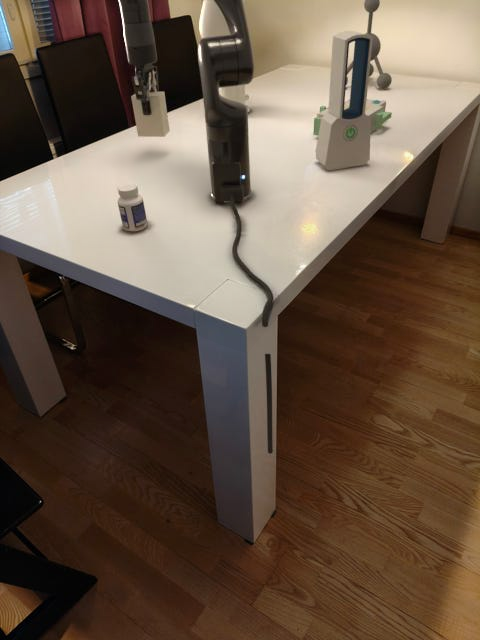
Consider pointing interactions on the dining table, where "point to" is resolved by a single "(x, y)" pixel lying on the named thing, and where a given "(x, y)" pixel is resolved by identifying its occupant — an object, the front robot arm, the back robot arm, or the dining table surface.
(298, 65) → the dining table surface
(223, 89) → the back robot arm
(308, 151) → the dining table surface
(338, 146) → the electronic device
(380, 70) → the molecular model
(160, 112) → the brick
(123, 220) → the pill bottle
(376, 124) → the decorative block
